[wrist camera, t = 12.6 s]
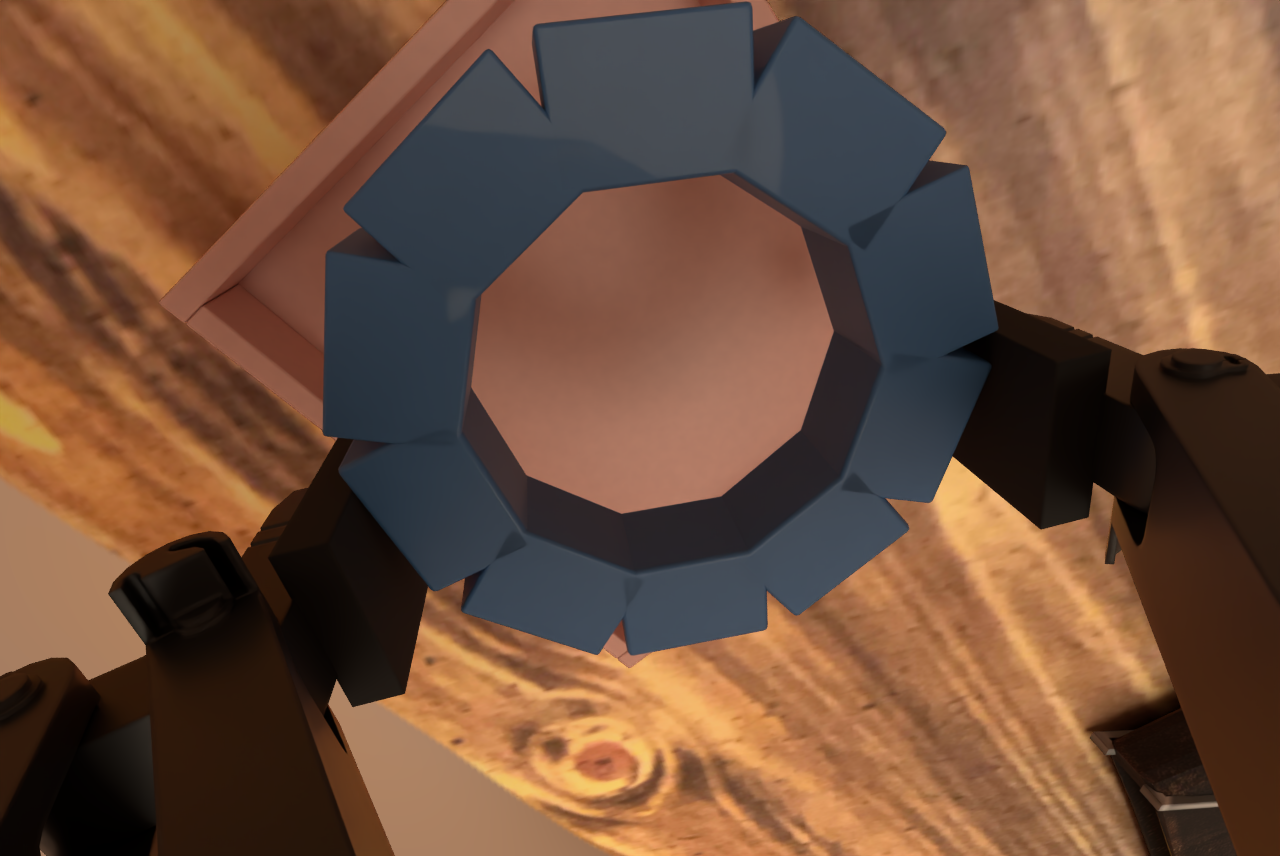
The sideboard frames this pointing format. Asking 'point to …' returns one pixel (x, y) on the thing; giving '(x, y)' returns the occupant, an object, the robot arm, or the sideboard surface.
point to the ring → (630, 156)
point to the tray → (551, 293)
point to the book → (1168, 788)
